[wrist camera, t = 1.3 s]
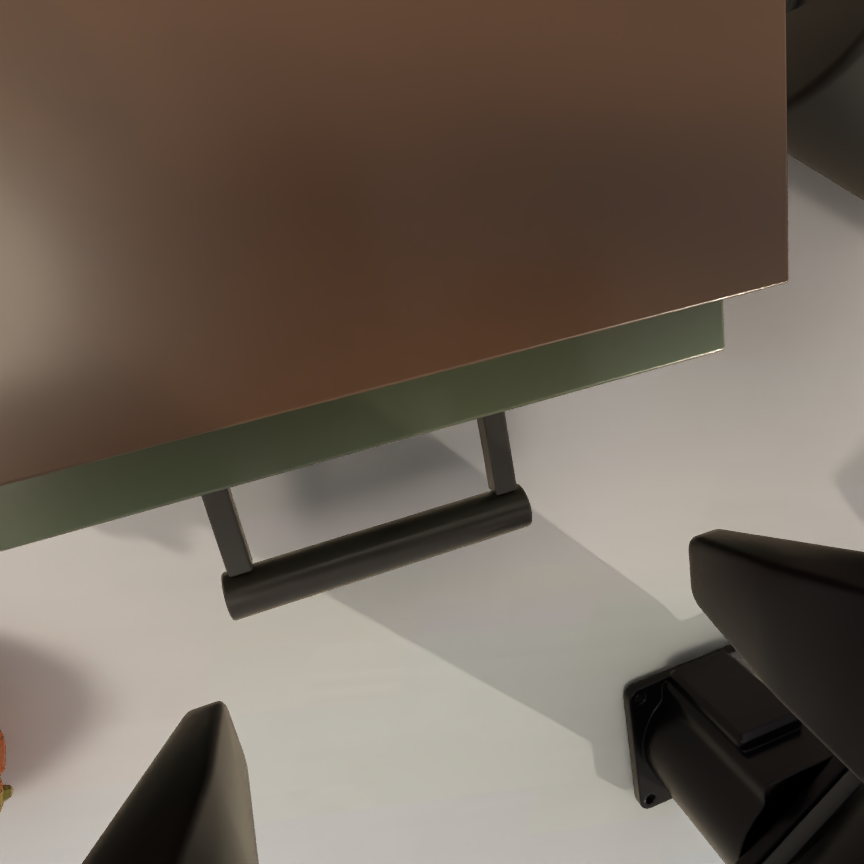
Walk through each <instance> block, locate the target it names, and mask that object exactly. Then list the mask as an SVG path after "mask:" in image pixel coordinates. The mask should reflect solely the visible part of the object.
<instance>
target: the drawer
mask: <svg viewBox="0 0 864 864" xmlns="http://www.w3.org/2000/svg"><path fill="white" fill-rule="evenodd" d="M724 347H725V342H724V319H723V300H719V301H715V302H711V303H707V304H703V305H699V306H695V307H692V308H688V309H684V310H680V311H676V312H672V313H668V314H664V315H661V316H657V317H653V318H649V319H645V320H641V321H637V322H634V323H630V324H626V325H622V326H618V327H614V328H610V329H606V330H603V331H599V332H595V333H591V334H587V335H583V336H579V337H575V338H572V339H568V340H564V341H560V342H556V343H552V344H548V345H545V346H541V347H537V348H533V349H529V350H525V351H521V352H517V353H514V354H510V355H506V356H502V357H498V358H494V359H490V360H486V361H483V362H479V363H475V364H471V365H467V366H463V367H459V368H456V369H452V370H448V371H444V372H440V373H436V374H432V375H428V376H425V377H421V378H417V379H413V380H409V381H405V382H401V383H397V384H394V385H390V386H386V387H382V388H378V389H374V390H370V391H367V392H363V393H359V394H355V395H351V396H347V397H343V398H339V399H336V400H332V401H328V402H324V403H320V404H316V405H312V406H308V407H305V408H301V409H297V410H293V411H289V412H285V413H281V414H278V415H274V416H270V417H266V418H262V419H258V420H254V421H250V422H247V423H243V424H239V425H235V426H231V427H227V428H223V429H220V430H216V431H212V432H208V433H204V434H200V435H196V436H192V437H189V438H185V439H181V440H177V441H173V442H169V443H165V444H161V445H158V446H154V447H150V448H146V449H142V450H138V451H134V452H131V453H127V454H123V455H119V456H115V457H111V458H107V459H103V460H100V461H96V462H92V463H88V464H84V465H80V466H76V467H72V468H69V469H65V470H61V471H57V472H53V473H49V474H45V475H42V476H38V477H34V478H30V479H26V480H22V481H18V482H14V483H11V484H7V485H3V486H0V551H4V550H7V549H11V548H15V547H18V546H22V545H25V544H29V543H33V542H36V541H40V540H43V539H47V538H51V537H54V536H58V535H61V534H65V533H68V532H72V531H76V530H79V529H83V528H86V527H90V526H94V525H97V524H101V523H104V522H108V521H112V520H115V519H119V518H122V517H126V516H130V515H133V514H137V513H140V512H144V511H148V510H151V509H155V508H158V507H162V506H165V505H169V504H173V503H176V502H180V501H183V500H187V499H191V498H194V497H198V496H202V499H203V502H204V505H205V508H206V511H207V514H208V517H209V520H210V523H211V526H212V529H213V532H214V535H215V538H216V541H217V544H218V547H219V550H220V553H221V556H222V559H223V562H224V565H225V568H226V571H227V572H224V573H223V574H222V576H221V582H222V589H223V594H224V598H225V602H226V605H227V608H228V611H229V613H230V616H231V617H232V619H233V620H238V619H241V618H244V617H248V616H251V615H254V614H257V613H260V612H263V611H266V610H269V609H272V608H275V607H279V606H282V605H285V604H288V603H291V602H294V601H297V600H300V599H303V598H306V597H310V596H313V595H316V594H319V593H322V592H325V591H328V590H331V589H334V588H337V587H341V586H344V585H347V584H350V583H353V582H356V581H359V580H362V579H365V578H368V577H372V576H375V575H378V574H381V573H384V572H387V571H390V570H393V569H396V568H399V567H403V566H406V565H409V564H412V563H415V562H418V561H421V560H424V559H427V558H430V557H434V556H437V555H440V554H443V553H446V552H449V551H452V550H455V549H458V548H461V547H465V546H468V545H471V544H474V543H477V542H480V541H483V540H486V539H489V538H492V537H496V536H499V535H502V534H505V533H508V532H511V531H514V530H517V529H520V528H523V527H527V526H529V525H530V524H531V522H532V511H531V506H530V503H529V500H528V498H527V495H526V493H525V492H524V490H523V488H522V487H521V486H520V485H519V484H516V481H515V474H514V468H513V462H512V456H511V449H510V443H509V437H508V431H507V424H506V418H505V412H504V411H507V410H510V409H514V408H517V407H521V406H525V405H528V404H532V403H535V402H539V401H543V400H546V399H550V398H553V397H557V396H561V395H564V394H568V393H571V392H575V391H579V390H582V389H586V388H589V387H593V386H597V385H600V384H604V383H607V382H611V381H614V380H618V379H622V378H625V377H629V376H632V375H636V374H640V373H643V372H647V371H650V370H654V369H658V368H661V367H665V366H668V365H672V364H676V363H679V362H683V361H686V360H690V359H693V358H697V357H701V356H704V355H708V354H711V353H715V352H719V351H722V350H723V349H724ZM474 419H477V422H478V428H479V433H480V439H481V445H482V450H483V456H484V462H485V468H486V473H487V479H488V485H489V488H490V489H491V490H492V491H489V492H486V493H482V494H479V495H476V496H473V497H469V498H466V499H463V500H459V501H456V502H453V503H450V504H446V505H443V506H440V507H437V508H433V509H430V510H427V511H424V512H420V513H417V514H414V515H410V516H407V517H404V518H401V519H397V520H394V521H391V522H388V523H384V524H381V525H378V526H374V527H371V528H368V529H365V530H361V531H358V532H355V533H352V534H348V535H345V536H342V537H338V538H335V539H332V540H329V541H325V542H322V543H319V544H316V545H312V546H309V547H306V548H302V549H299V550H296V551H293V552H289V553H286V554H283V555H280V556H276V557H273V558H270V559H267V560H263V561H260V562H257V563H253V561H252V556H251V553H250V550H249V547H248V544H247V541H246V538H245V534H244V531H243V528H242V525H241V522H240V519H239V516H238V512H237V509H236V506H235V503H234V500H233V497H232V493H231V490H230V487H234V486H237V485H241V484H245V483H248V482H252V481H255V480H259V479H262V478H266V477H270V476H273V475H277V474H280V473H284V472H288V471H291V470H295V469H298V468H302V467H306V466H309V465H313V464H316V463H320V462H324V461H327V460H331V459H334V458H338V457H341V456H345V455H349V454H352V453H356V452H359V451H363V450H367V449H370V448H374V447H377V446H381V445H385V444H388V443H392V442H395V441H399V440H403V439H406V438H410V437H413V436H417V435H421V434H424V433H428V432H431V431H435V430H438V429H442V428H446V427H449V426H453V425H456V424H460V423H464V422H467V421H471V420H474Z"/></svg>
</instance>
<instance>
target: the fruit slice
mask: <svg viewBox="0 0 864 864" xmlns="http://www.w3.org/2000/svg"><path fill="white" fill-rule="evenodd" d="M5 754H6V746H5V741H4V736H3V734H2V732H1V730H0V775H1V774H2V772H3V771H4V769H5V761H6V758H5ZM12 793H13V788H12V787H11V786H10V785H3V784H2V780H1V778H0V812H1V809H2V806H3V802H4V801H6V800H7V799H8V798H10V797H11V796H12Z"/></svg>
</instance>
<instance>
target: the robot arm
mask: <svg viewBox="0 0 864 864" xmlns="http://www.w3.org/2000/svg"><path fill="white" fill-rule="evenodd" d="M689 561H690V576H691V588H692V593H693V596H694V598H695V600H696V602H697V604H698V605H699V607H700V608H701V609H702V610H703V612H704V613H705V614H706V615H707V616H708V618H709V619H710V620H711V621H712V622H713V624H714V625H715V626H716V627H717V628H718V630H719V631H720V632H721V633H722V634H723V635H724V637H725V638H726V639H727V640H728V641H729V643H730V644H731V645H729V646H726V647H724V648H721V649H719V650H716V651H714V652H711V653H709V654H706V655H704V656H701V657H698V658H696V659H693V660H691V661H688V662H686V663H683V664H681V665H678V666H676V667H673V668H671V669H668V670H666V671H663V672H661V673H658V674H655V675H653V676H650V677H648V678H645V679H643V680H640V681H638V682H635V683H633V684H631V685H630V686H629V687H628V688H627V689H626V690H625V693H624V703H625V711H626V720H627V729H628V737H629V746H630V755H631V764H632V772H633V781H634V790H635V797H636V799H637V801H638V802H639V803H640V805H641V806H642V807H643V808H647V809H648V808H651V807H654V806H656V805H658V804H660V803H663V802H665V801H667V800H669V799H672V798H673V799H674V800H675V801H676V802H677V804H678V805H679V806H680V807H681V809H682V810H683V811H684V812H685V814H686V815H687V816H688V817H689V819H690V820H691V821H692V822H693V824H694V825H695V826H696V827H697V829H698V830H699V831H700V832H701V834H702V835H703V836H704V837H705V839H706V840H707V841H708V842H709V844H710V845H711V846H712V847H713V849H714V850H715V851H716V852H717V854H718V855H719V856H720V857H721V859H722V860H723V861H724V862H725V864H864V552H861V551H854V550H848V549H842V548H835V547H829V546H823V545H817V544H810V543H804V542H798V541H791V540H785V539H779V538H772V537H766V536H760V535H754V534H747V533H741V532H735V531H728V530H722V529H716V530H712V531H709V532H706V533H704V534H701V535H698V536H695V537H693V538H692V540H691V541H690V544H689ZM637 695H638V696H637ZM636 696H637V697H636ZM82 864H259V863H258V855H257V846H256V837H255V829H254V820H253V811H252V803H251V794H250V785H249V777H248V770H247V764H246V760H245V756H244V753H243V750H242V747H241V744H240V742H239V739H238V736H237V733H236V730H235V728H234V725H233V722H232V719H231V717H230V714H229V711H228V709H227V707H226V705H225V704H224V703H223V702H221V701H217V702H214V703H211V704H208V705H205V706H202V707H199V708H196V709H193V710H191V711H189V712H188V713H187V714H186V715H185V716H184V717H183V719H182V720H181V722H180V723H179V724H178V726H177V727H176V729H175V730H174V732H173V733H172V735H171V736H170V737H169V739H168V740H167V742H166V743H165V745H164V746H163V747H162V749H161V750H160V752H159V753H158V755H157V756H156V758H155V759H154V760H153V762H152V763H151V765H150V766H149V768H148V769H147V771H146V772H145V773H144V775H143V776H142V778H141V779H140V781H139V782H138V784H137V785H136V786H135V788H134V789H133V791H132V792H131V794H130V795H129V797H128V798H127V799H126V801H125V802H124V804H123V805H122V807H121V808H120V810H119V811H118V812H117V814H116V815H115V817H114V818H113V820H112V821H111V822H110V824H109V825H108V827H107V828H106V830H105V831H104V833H103V834H102V835H101V837H100V838H99V840H98V841H97V843H96V844H95V846H94V847H93V848H92V850H91V851H90V853H89V854H88V856H87V857H86V859H85V860H84V861H83V863H82Z"/></svg>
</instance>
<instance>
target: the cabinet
mask: <svg viewBox="0 0 864 864" xmlns="http://www.w3.org/2000/svg"><path fill="white" fill-rule="evenodd" d="M786 282H788V189H787V90H786V0H0V486H3V485H7V484H11V483H14V482H18V481H22V480H26V479H30V478H34V477H38V476H42V475H45V474H49V473H53V472H57V471H61V470H65V469H69V468H72V467H76V466H80V465H84V464H88V463H92V462H96V461H100V460H103V459H107V458H111V457H115V456H119V455H123V454H127V453H131V452H134V451H138V450H142V449H146V448H150V447H154V446H158V445H161V444H165V443H169V442H173V441H177V440H181V439H185V438H189V437H192V436H196V435H200V434H204V433H208V432H212V431H216V430H220V429H223V428H227V427H231V426H235V425H239V424H243V423H247V422H250V421H254V420H258V419H262V418H266V417H270V416H274V415H278V414H281V413H285V412H289V411H293V410H297V409H301V408H305V407H308V406H312V405H316V404H320V403H324V402H328V401H332V400H336V399H339V398H343V397H347V396H351V395H355V394H359V393H363V392H367V391H370V390H374V389H378V388H382V387H386V386H390V385H394V384H397V383H401V382H405V381H409V380H413V379H417V378H421V377H425V376H428V375H432V374H436V373H440V372H444V371H448V370H452V369H456V368H459V367H463V366H467V365H471V364H475V363H479V362H483V361H486V360H490V359H494V358H498V357H502V356H506V355H510V354H514V353H517V352H521V351H525V350H529V349H533V348H537V347H541V346H545V345H548V344H552V343H556V342H560V341H564V340H568V339H572V338H575V337H579V336H583V335H587V334H591V333H595V332H599V331H603V330H606V329H610V328H614V327H618V326H622V325H626V324H630V323H634V322H637V321H641V320H645V319H649V318H653V317H657V316H661V315H664V314H668V313H672V312H676V311H680V310H684V309H688V308H692V307H695V306H699V305H703V304H707V303H711V302H715V301H719V300H723V299H726V298H730V297H734V296H738V295H742V294H746V293H750V292H753V291H757V290H761V289H765V288H769V287H773V286H777V285H781V284H784V283H786Z"/></svg>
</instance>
